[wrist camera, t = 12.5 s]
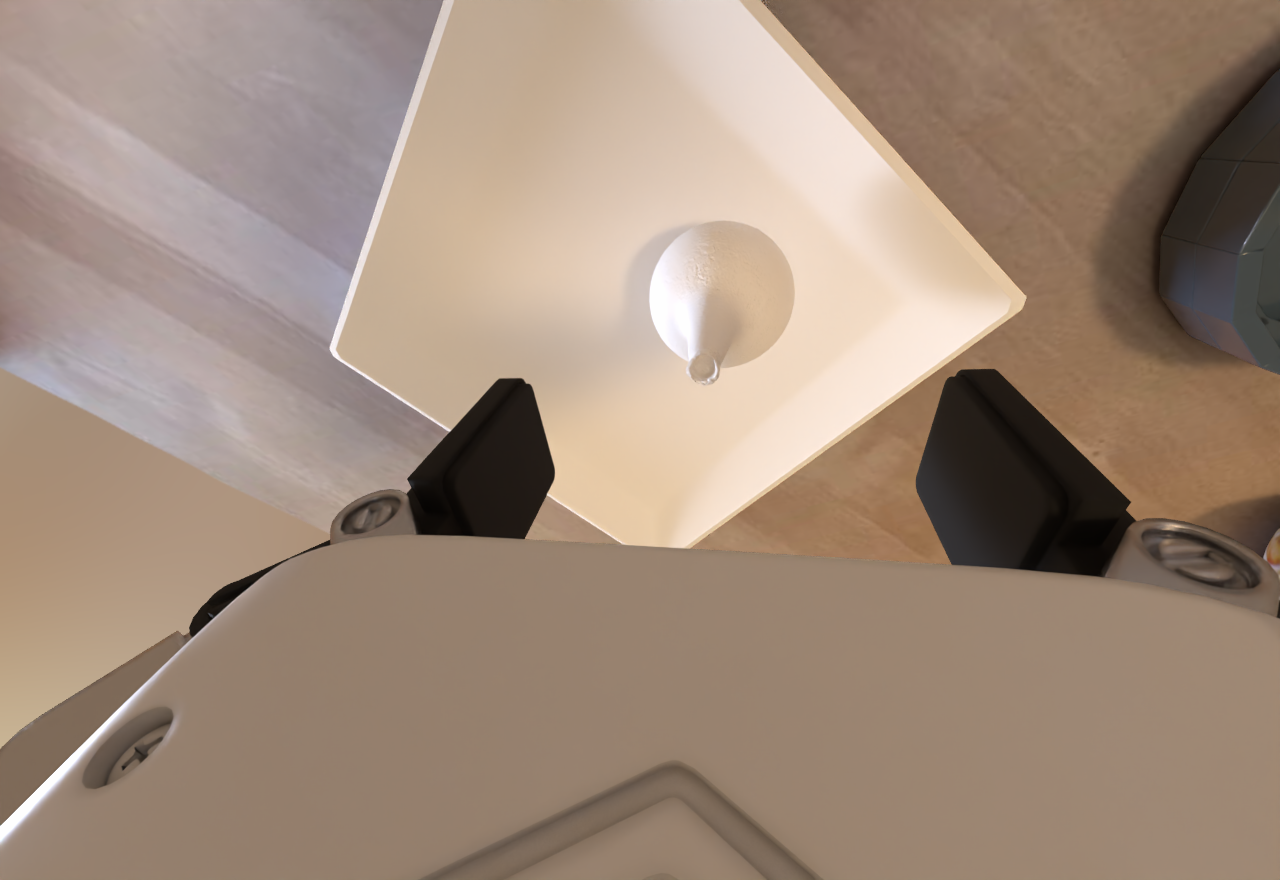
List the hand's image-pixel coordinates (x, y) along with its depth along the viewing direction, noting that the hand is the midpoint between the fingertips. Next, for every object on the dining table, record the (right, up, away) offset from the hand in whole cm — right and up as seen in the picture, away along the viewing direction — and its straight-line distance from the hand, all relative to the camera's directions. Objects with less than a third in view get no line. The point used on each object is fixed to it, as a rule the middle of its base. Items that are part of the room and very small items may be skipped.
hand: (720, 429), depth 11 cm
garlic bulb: (+2, +7, +11) cm, 13 cm away
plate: (-2, +7, +15) cm, 16 cm away
